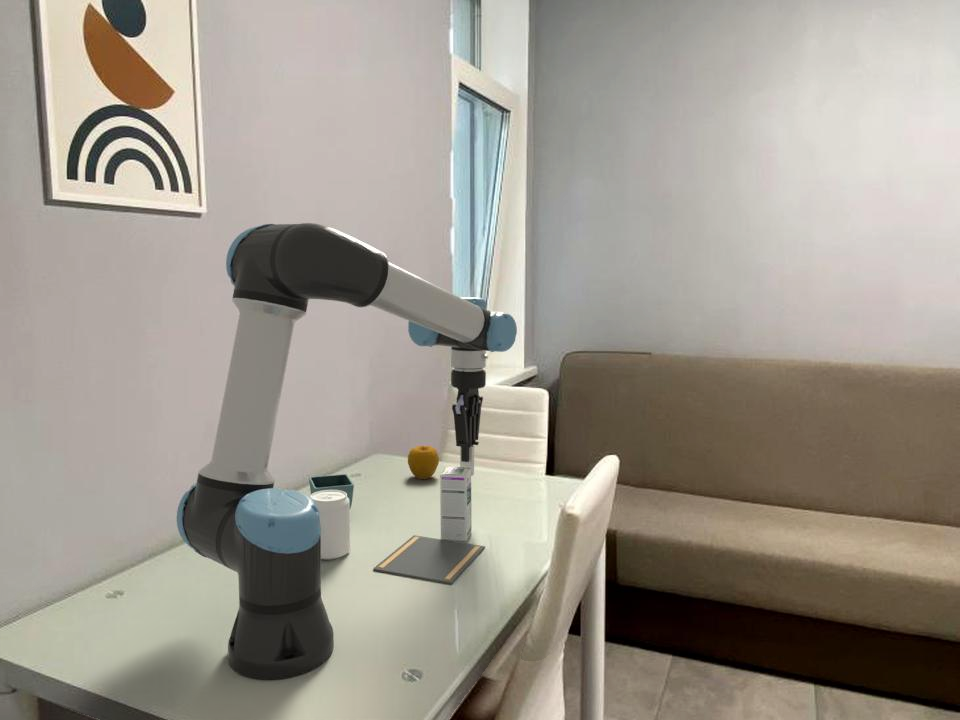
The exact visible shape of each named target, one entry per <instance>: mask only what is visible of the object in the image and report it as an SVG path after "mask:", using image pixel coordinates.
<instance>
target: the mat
mask: <svg viewBox="0 0 960 720" xmlns="http://www.w3.org/2000/svg"><path fill="white" fill-rule="evenodd" d="M485 547H486V546H485V545H479V544H472V543H465V542H462V541H452V540H443V539H441V538H434V537H428V536H423V535H422V536H421V535H415V534H414V535H412V536H411V537H410V538H409V539H407V540H406V541H405V542H404V543H402V544H401V545H400V546H399V547H397V549H395V550H394V551H393V552H391V553H390V554H388V556H386V557H385V558H384V559H382V561H380V562H379V563H378V564H377V565H376V566H374V567H373V568H372V571H374V572H380V573H386V574H390V575H397V576H401V577H402V576H403V577H409V578H412V579H420V580H425V581H428V582H429V581H430V582H437V583H443V584H447V585H453V584H454V582H455V581H456V580H457V579H458V578H459V577H460V576H461V575H462V574H463V572H465V571H466V569H467V568H468V567H469V566H470V565H471V564H472V563H473V562H474V561H475V559H477V558H478V557H479V555H480V554H481V553H482V552H483V551H484V550H485Z"/></svg>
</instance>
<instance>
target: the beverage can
mask: <svg viewBox="0 0 960 720" xmlns="http://www.w3.org/2000/svg"><path fill="white" fill-rule="evenodd" d="M309 497H310V498H312V499H313V500H314V501H315V503H316V504H317V506H318V509H319V516H320V523H321V560H336V559H339V558H341V557H343V556H345V555H347V554H348V553H349V552H350V551H351V527H350V526H351V516H350V515H351V513H350V512H351V508H350V501H349V498H348V497H347V493H346V492H344V491H340V490H322V491H318V492H315V493H313V494H311V493H310V495H309Z"/></svg>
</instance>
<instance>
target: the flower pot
mask: <svg viewBox="0 0 960 720" xmlns="http://www.w3.org/2000/svg"><path fill="white" fill-rule="evenodd" d="M308 481H309V487H310V488H309V490H310V495H311V494H313V493H315V492H318V491H322V490H340V491H344V492H346V493H347V497H348V498H349V501H350V509H351V507H352V503H353V498H354V497H353V496H354V489H355V484H354V482H353V480H351V478H350V476H349V475H348V474H347V473H342V474H341V473H340V474H332V475H331V474H329V475H318V476H311V477H308Z"/></svg>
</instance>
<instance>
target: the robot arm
mask: <svg viewBox="0 0 960 720" xmlns="http://www.w3.org/2000/svg"><path fill="white" fill-rule="evenodd" d="M225 259H226V260H225V261H226V262H225V268H226V272H227V273H226V274H227V276H228V277H229V278H230V283H231V285H233V286H234V289H233V293H232V294H233V295H232V299H231V301H232V302H233V304H234V306H235V307H236V308H237V310H238V311H239V315H238V320H237V325H236V330H235V337H234V342H233V346H232V351H231V352H232V353H231V357H230V361H229V362H230V363H229V367H228V373H227V378H226V383H225V388H224V393H223V398H222V405H221V409H220V414H219V419H218V424H217V425H218V426H217V428H216V435H215V439H214V440H215V441H214V446H213V450H212V456H211V459H210V462H209V463H207V464H205V465H204V466H203V467H202V468H200V469H199V470H198V473H197V479H196V483H194V484H192V485H191V487H190V489H189V490H188V491H185V493H184V494H183V495H182V497H181V498H180V501H179V504H178V507H177V510H176V526H177V531H178V533H179V535H180V537H181V539H182V540H183V541H184V543H185V544H186V545H187V546H188V547H190V548H191V549H193V550H194V552H195V553H196V554H199V555H200V556H201V557H203V558H207V559H210V560H212V561H213V562H216V563H218V564H219V565H222V566H224V567H225V568H228V569H229V570H232V571H233V572H235V573H237V576H238V599H239V600H238V601H239V605H238V609H237V612H236V617H235V619H234V623H233V626H232V630H231V632H230V635H229V639H228V643H227V655H228V656H227V657H228V658H227V659H228V664H229V666H230V668H231V669H232V670H234V672H237V673H238V674H240V675H242V676H245V677H247V678H253V679H257V680H278V679H286V678H287V679H288V678H291V677H295V676H299V675H301V674H304V673H307V672H309V671H312V670H314V669H316V668H317V667H319V666H321V665H322V664H323V663H324V662H326V661H327V660H328V658H329V657H330V656H331V655H332V653H333V651H334V648H335V645H334V644H335V641H334V640H335V639H334V628H333V626H332V624H331V622H330V619H329V616H328V613H327V610H326V607H325V604H324V601H323V599H322V574H321V573H322V565H321V564H322V563H321V562H322V559H321V523H320V516H319V509H318V506H317V504H316V503H315V501H314V500H313V499H312V498H310V495H307V494H306V493H303V492H301V491H298V490H295V489H283V488H279V487H278V488H277V487H274V486H275V480H276V479H275V478H274V476H273V475H272V473H271V472H270V470H269V469H268V466H269V459H270V455H271V451H272V450H271V449H272V445H273V444H272V443H273V439H274V434H275V428H276V423H277V417H278V412H279V407H280V402H281V401H280V400H281V396H282V390H283V386H284V380H285V374H286V369H287V365H288V364H287V363H288V358H289V354H290V348H291V343H292V338H293V332H294V325H295V324H296V322H297V321H299V320H300V319H302V318H303V317H304V316H306V314H307V310H308V305H309V300H324V301H325V300H326V301H334V302H339V303H340V302H341V303H346V304H350V305H352V306H355V307H356V308H366V307H370V306H372V307H375V308H376V309H378V310H381V311H383V312H387V313H389V314H391V315H393V316H396V317H399V318H401V319H403V320H406V321H408V323H407V324H408V326H407V327H408V328H407V329H408V334H409V337H410V339H411V341H412V342H413V343H414V344H415V345H416V346H419V347H428V348H429V347H430V348H431V347H435V346H440V347H441V346H442V347H450V348H451V349H450V351H451V352H450V367H452V368H453V369H452V370H451V371H450V386H451V387H452V388H456V389H457V395H456V404H452V406H451V410H452V413H453V418H454V419H453V421H454V423H453V424H454V433H455V434H454V435H455V443H456V444H455V445H456V447H460V452H459V453H460V454H459V455H460V456H459V457H460V458H459V459H460V460H459V461H460V462H459V463H460V464H459V467H466V468H471V477H472V476H474V475H475V446H479V443H480V442H479V441H478V440H479V433H480V423H481V412H482V404H483V401H484V397H483V396H481V395H480V391H479V389H483V388H485V386H486V385H487V383H486V381H487V380H486V379H487V377H486V376H487V372H486V370H485V368H486V366H487V365H486V362H487V359H488V358H489V356H488V354H487V352H491V353H494V352H497V353H503V352H507V351H509V350H510V349H511V348H512V347H513V346H514V344H515V343H516V342H515V341H516V336H517V334H518V333H517V332H518V328H517V322H516V320H515V319H514V317H513V316H512V315H511V314H509V313H506V312H502V311H499V310H498V311H490V310H488V308H487V302H486V299H485V298H483V297H477V296H475V297H474V296H473V297H472V296H471V297H469V296H466V297H465V296H461V297H460V296H458V295H456V294H454V293H452V292H450V291H448V290H446V289H444V288H442V287H439V286H438V285H437V284H436V285H435V284H434V283H432V282H429V281H427V280H425V279H424V278H421V277H419V276H417V275H415V274H414V273H411V272H409V271H407V270H405V269H403V268H401V267H400V266H397V265H395V264H393V263H391V262H389V259H388V257H387V255H386V254H385V253H384V252H383V251H381V250H379V249H377V248H376V247H373V246H371V245H369V244H367V243H365V242H363V241H361V240H359V239H358V238H355V237H353V236H350V235H349V234H346V233H344V232H342V231H340V230H337V229H335V228H332V227H329V226H327V225H324V224H318V223H313V222H305V223H303V222H302V223H283V224H282V223H280V224H279V223H278V224H275V223H265V224H261V225H258V226H254V227H250V228H248V229H246V230H244V231H242V232H241V233H240V234H238V235H237V237H235V238H234V240H233V241H232V243H231V244H230V247H229V248H228V251H227V254H226V258H225Z"/></svg>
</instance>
